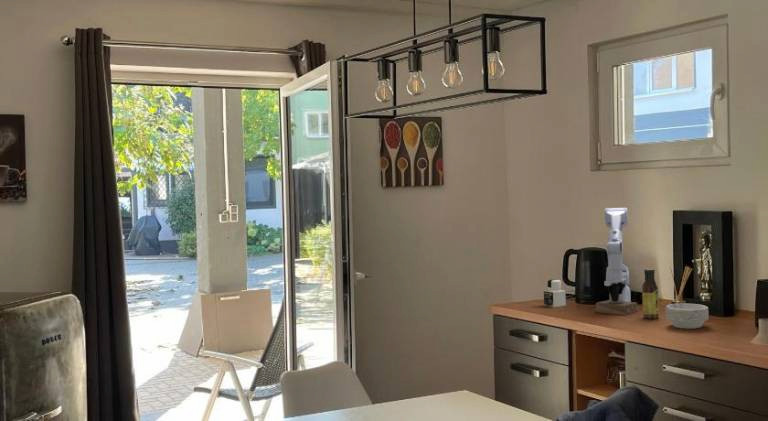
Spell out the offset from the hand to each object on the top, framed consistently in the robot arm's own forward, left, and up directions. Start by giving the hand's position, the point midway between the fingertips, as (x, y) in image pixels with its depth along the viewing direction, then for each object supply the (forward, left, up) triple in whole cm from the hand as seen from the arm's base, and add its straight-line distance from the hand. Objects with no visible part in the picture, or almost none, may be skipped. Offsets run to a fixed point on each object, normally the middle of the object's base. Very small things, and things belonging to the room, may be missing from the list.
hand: (616, 300), depth 357 cm
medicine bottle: (0, -32, -5) cm, 32 cm away
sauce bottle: (+5, +19, -5) cm, 20 cm away
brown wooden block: (0, 0, -5) cm, 5 cm away
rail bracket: (0, 0, -5) cm, 5 cm away
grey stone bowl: (+15, +40, -5) cm, 43 cm away
